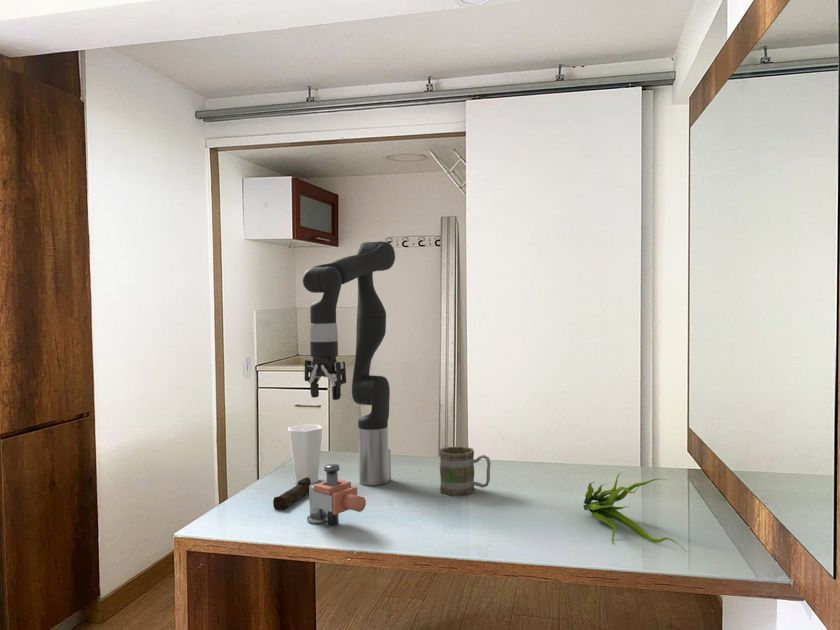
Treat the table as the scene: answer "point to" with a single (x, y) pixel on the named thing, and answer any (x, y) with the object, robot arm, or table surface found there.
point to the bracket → (342, 496)
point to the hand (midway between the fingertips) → (325, 398)
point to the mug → (459, 471)
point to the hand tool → (292, 494)
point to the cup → (305, 451)
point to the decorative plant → (615, 508)
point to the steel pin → (332, 481)
